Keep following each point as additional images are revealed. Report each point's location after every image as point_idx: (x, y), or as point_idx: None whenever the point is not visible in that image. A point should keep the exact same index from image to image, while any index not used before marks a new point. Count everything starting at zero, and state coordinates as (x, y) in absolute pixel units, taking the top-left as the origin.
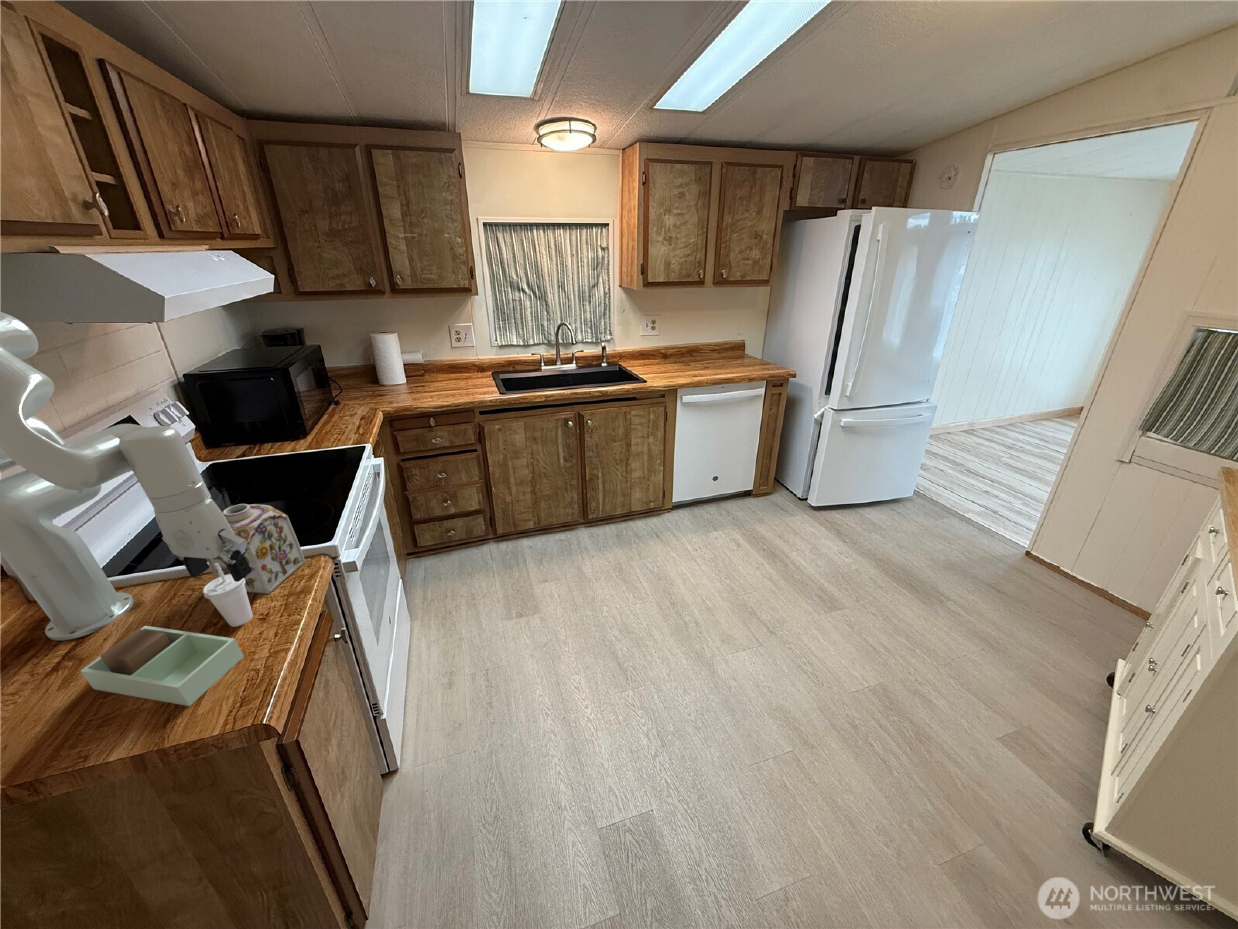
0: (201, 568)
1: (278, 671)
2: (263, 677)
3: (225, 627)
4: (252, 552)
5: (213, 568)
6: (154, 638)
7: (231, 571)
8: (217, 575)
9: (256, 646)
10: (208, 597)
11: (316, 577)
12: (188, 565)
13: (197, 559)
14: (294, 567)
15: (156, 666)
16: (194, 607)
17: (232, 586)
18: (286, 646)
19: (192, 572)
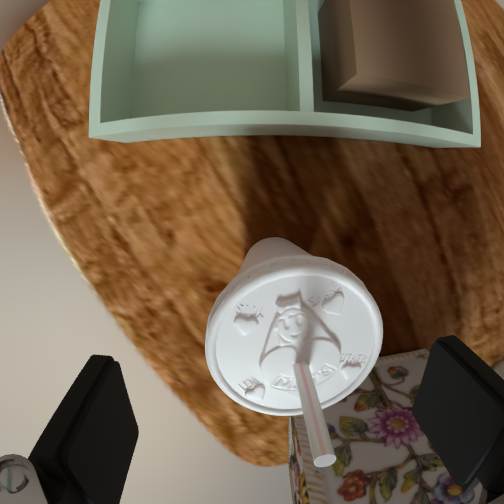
0: (432, 398)
1: (24, 140)
2: (41, 115)
3: (306, 236)
4: (309, 498)
5: None
6: (368, 47)
7: (57, 408)
8: None
9: (135, 188)
10: (307, 260)
11: (212, 430)
12: (487, 394)
13: (463, 444)
14: (291, 446)
15: (291, 10)
16: (452, 284)
17: (227, 346)
18: (60, 209)
19: (455, 360)
